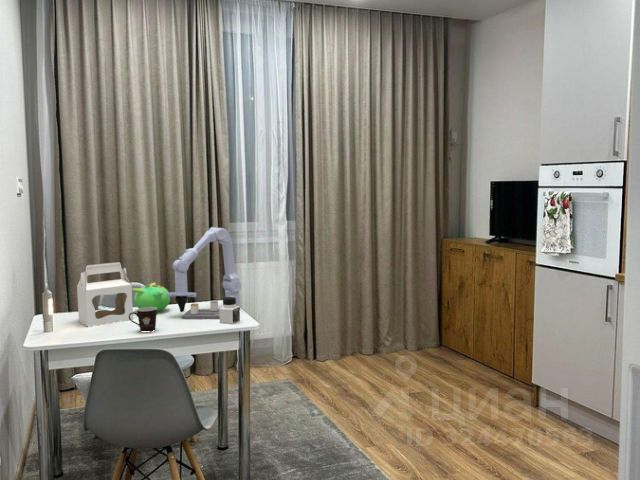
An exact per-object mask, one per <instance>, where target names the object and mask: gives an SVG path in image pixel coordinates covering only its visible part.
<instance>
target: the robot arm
mask: <svg viewBox="0 0 640 480" xmlns="http://www.w3.org/2000/svg"><path fill="white" fill-rule="evenodd" d="M212 242H218V243H219V244H221V247H222V256H223V266H224V268H223V269H224V275H223V276H222V277H223V281H222V284H221V285H222V288H223V290H224V295H225V296H224V297H228V296H232V297H235V298H236V306H239V307H240V309H241V308H242V307H243V305H242V304H241V296H240V291H241V289H242V282H241V281H240V277H239V276H238V274H237V273H236V265H235V264H236V263H235V255H234V254H235V253H234V243H233V239H232V236H231V235H230V234H229V231H228V230H227V229H225V228H223V227H215V226H212V227H210V228H208V230H207V231H205V233H204V235H203V236H202V237H201V238H200V239H199V240H198V242H196V244H195V245H194V246H193V248H192V247H191V248H188V249H185V252H184V253H183V254H182V255H181V256H179V257H178V259H176V260H174V262H173V264H172V265H171V266H172V267H171V268H172V269H173V271H174V284H175V285H174V287H175V288H174V289H175V291H174V292H172V291H171V292H169V293H166V294H167V297H170V298H174V300H175V301H176V303H177V305H178V308H179V311H180V312H182V313H184V312H185V307H186V304H187V302H188V299H189V298H197V297H198V296H197V295H198V294H197V293H198V292H191V291H190V292H189V291H188V275H187V274H188V272H187V271H189V267H190V265H191V264H192V263H193V262H194V261H195V260H196V259H197V258H198V257H199V252H201V250H203V248H205V246H207V245H208V244H209V243H212Z"/></svg>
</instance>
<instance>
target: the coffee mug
mask: <svg viewBox="0 0 640 480" xmlns="http://www.w3.org/2000/svg"><path fill="white" fill-rule="evenodd" d="M157 313H158V311H157V308H156V307H143V308H137V309H136V312H134V311H133V312H132V313H130V314H129V319H130V315H131V314H133V315H136V317H137V318H138V322H136V321H134V320H131V319H130V320H129V321H131V323H134V324H135V325H137V326H138V327H139V330H140V332H141V331H153V330H155V331H156V325H157V315H158V314H157Z"/></svg>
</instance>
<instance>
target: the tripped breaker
mask: <svg viewBox="0 0 640 480" xmlns="http://www.w3.org/2000/svg"><path fill="white" fill-rule="evenodd" d="M190 309H191V314H198V313H199V309H200V308H199V303H191V304H190Z"/></svg>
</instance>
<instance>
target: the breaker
mask: <svg viewBox="0 0 640 480" xmlns="http://www.w3.org/2000/svg"><path fill="white" fill-rule="evenodd" d="M209 303H210V309H211V311H217V310H218V309H219V300H211V301H210V302H209Z"/></svg>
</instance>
